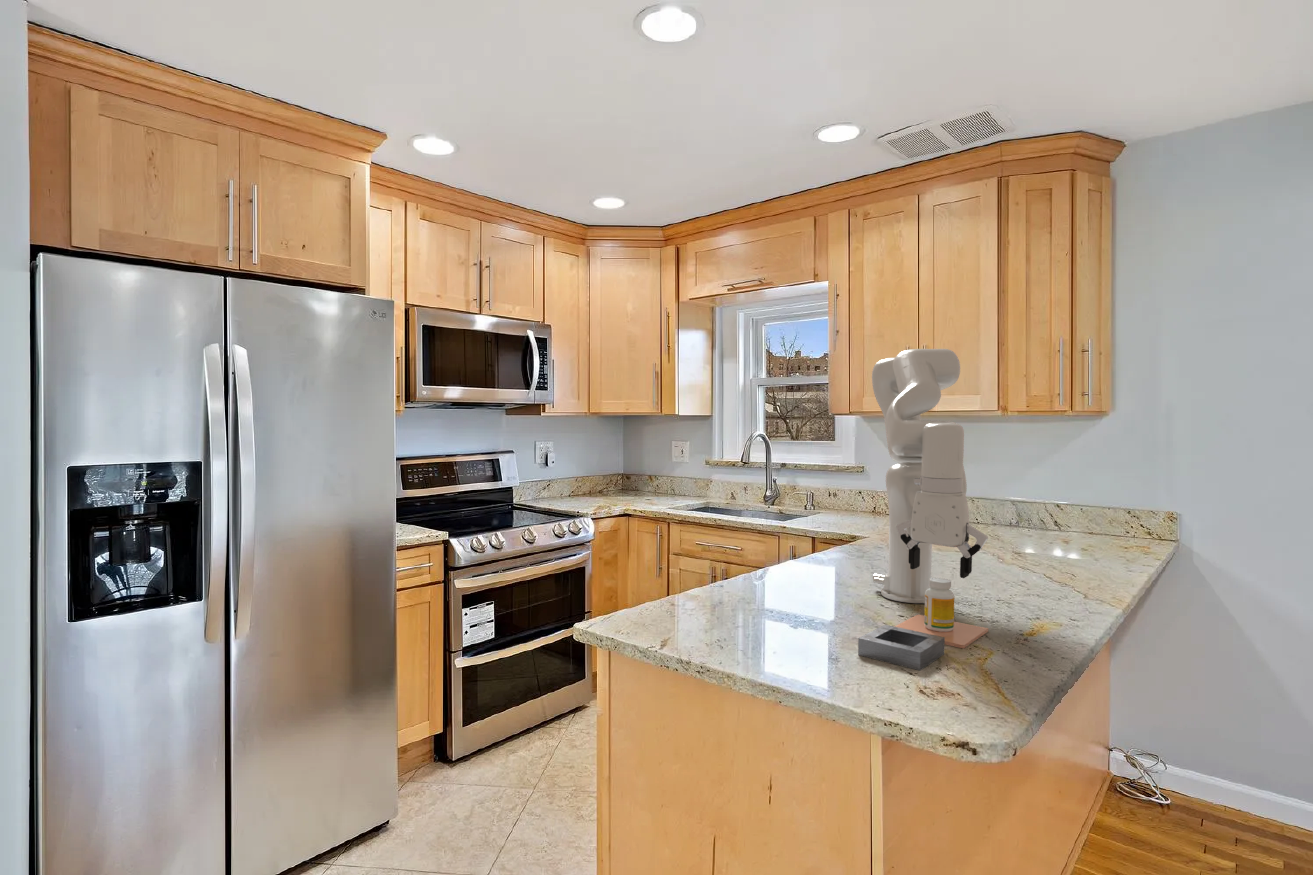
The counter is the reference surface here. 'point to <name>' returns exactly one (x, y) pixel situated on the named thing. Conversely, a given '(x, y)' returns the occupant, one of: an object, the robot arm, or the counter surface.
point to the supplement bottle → (939, 605)
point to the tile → (957, 637)
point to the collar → (901, 646)
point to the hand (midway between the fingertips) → (939, 572)
